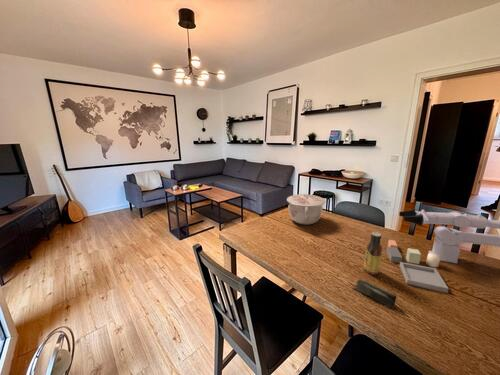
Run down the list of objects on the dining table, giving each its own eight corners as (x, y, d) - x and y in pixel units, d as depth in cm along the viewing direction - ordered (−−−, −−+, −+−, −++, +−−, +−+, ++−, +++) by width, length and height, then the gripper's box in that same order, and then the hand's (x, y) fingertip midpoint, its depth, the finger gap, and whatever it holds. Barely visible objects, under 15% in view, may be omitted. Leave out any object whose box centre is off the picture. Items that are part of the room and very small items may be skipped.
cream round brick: (436, 262, 103) (438, 254, 102) (439, 268, 99) (442, 259, 98) (424, 260, 105) (426, 252, 104) (427, 266, 101) (429, 257, 99)
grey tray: (434, 272, 96) (435, 268, 95) (447, 293, 84) (448, 288, 83) (399, 265, 101) (400, 261, 101) (406, 284, 89) (407, 279, 89)
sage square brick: (416, 259, 106) (418, 249, 105) (418, 264, 102) (421, 254, 101) (405, 257, 108) (407, 248, 106) (408, 262, 104) (410, 252, 103)
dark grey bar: (397, 294, 78) (355, 275, 88) (395, 298, 76) (352, 279, 86) (394, 304, 80) (353, 285, 90) (393, 309, 78) (351, 289, 88)
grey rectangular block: (396, 253, 112) (397, 247, 111) (401, 263, 103) (402, 257, 102) (386, 252, 113) (387, 246, 112) (390, 262, 105) (391, 255, 104)
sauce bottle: (365, 265, 102) (369, 228, 97) (379, 270, 99) (385, 232, 93) (361, 272, 98) (367, 234, 92) (377, 277, 94) (383, 238, 89)
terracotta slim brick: (394, 246, 119) (395, 240, 118) (396, 251, 113) (397, 245, 112) (387, 245, 120) (388, 239, 119) (389, 250, 115) (390, 244, 114)
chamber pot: (301, 211, 174) (301, 187, 168) (331, 221, 153) (333, 194, 148) (278, 220, 157) (278, 194, 151) (308, 233, 136) (310, 203, 131)
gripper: (428, 206, 110) (398, 205, 115) (441, 215, 97) (406, 213, 102) (427, 218, 111) (397, 217, 116) (440, 229, 98) (405, 226, 103)
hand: (401, 216), depth 109 cm, fingers open, 7 cm apart
